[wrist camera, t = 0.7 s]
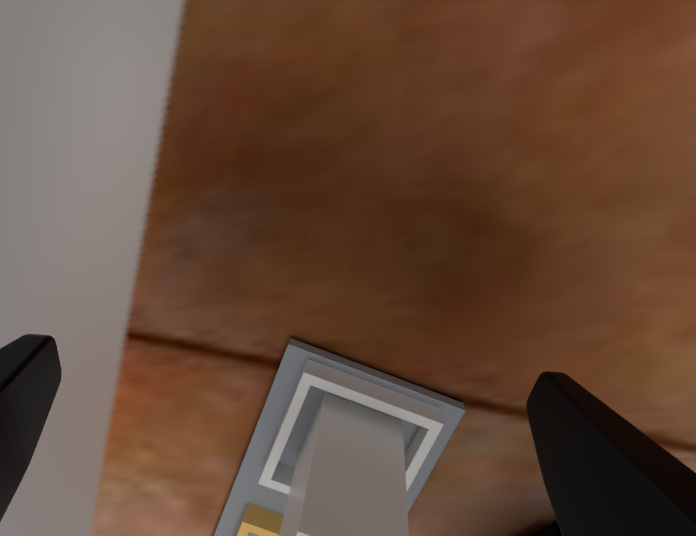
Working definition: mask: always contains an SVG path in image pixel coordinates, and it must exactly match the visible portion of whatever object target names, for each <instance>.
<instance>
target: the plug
mask: <svg viewBox="0 0 696 536" xmlns="http://www.w3.org/2000/svg"><path fill="white" fill-rule="evenodd" d="M279 536H409V524H408V507H407V491H406V475H405V459H404V442H403V426H402V421H400V420H397V419H394V418H392V417H389V416H386V415H384V414H381V413H378V412H376V411H373V410H370V409H367V408H365V407H362V406H359V405H357V404H354V403H351V402H349V401H346V400H343V399H340V398H338V397H335V396H332V395H330V394H327V393H325V395H324V397H323V399H322V401H321V404H320V406H319V408H318V411H317V413H316V415H315V418H314V420H313V422H312V424H311V427H310V429H309V431H308V434H307V436H306V438H305V440H304V443H303V445H302V447H301V450H300V452H299V454H298V458H297V462H296V466H295V470H294V474H293V479H292V483H291V487H290V491H289V495H288V500H287V504H286V508H285V512H284V516H283V521H282V525H281V529H280V533H279Z"/></svg>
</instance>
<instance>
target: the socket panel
mask: <svg viewBox="0 0 696 536" xmlns="http://www.w3.org/2000/svg"><path fill="white" fill-rule="evenodd" d="M325 393H327V394H330V395H332V396H335V397H338V398H340V399H343V400H346V401H349V402H351V403H354V404H357V405H359V406H362V407H365V408H367V409H370V410H373V411H376V412H378V413H381V414H384V415H386V416H389V417H392V418H394V419H397V420H400V421H402V426H403V442H404V459H405V475H406V491H407V507H408V512H409V510H410V509H411V507H412V505H413V503H414V501H415V500H416V498H417V496H418V494H419V493H420V491H421V489H422V487H423V485H424V484H425V482H426V480H427V478H428V477H429V475H430V473H431V471H432V469H433V468H434V466H435V464H436V462H437V460H438V459H439V457H440V455H441V453H442V452H443V450H444V448H445V446H446V444H447V443H448V441H449V439H450V437H451V436H452V434H453V432H454V430H455V428H456V427H457V425H458V423H459V421H460V420H461V418H462V416H463V414H464V412H465V411H466V410H465V407H464V403H462V402H459V401H457V400H454V399H451V398H449V397H446V396H443V395H441V394H438V393H435V392H433V391H430V390H427V389H425V388H422V387H419V386H417V385H414V384H411V383H409V382H406V381H403V380H401V379H398V378H396V377H393V376H390V375H388V374H385V373H382V372H380V371H377V370H374V369H372V368H369V367H366V366H364V365H361V364H358V363H356V362H353V361H350V360H348V359H345V358H342V357H340V356H337V355H334V354H332V353H329V352H326V351H324V350H321V349H318V348H316V347H313V346H310V345H308V344H305V343H303V342H300V341H297V340H295V339H292V338H290V341H289V343H288V346H287V349H286V351H285V354H284V356H283V359H282V361H281V364H280V367H279V369H278V372H277V374H276V377H275V379H274V382H273V385H272V387H271V390H270V392H269V395H268V397H267V400H266V403H265V405H264V408H263V410H262V413H261V416H260V418H259V421H258V423H257V426H256V428H255V431H254V434H253V436H252V439H251V441H250V444H249V446H248V449H247V452H246V454H245V457H244V459H243V462H242V464H241V467H240V470H239V472H238V475H237V477H236V480H235V483H234V485H233V488H232V490H231V493H230V495H229V498H228V501H227V503H226V506H225V508H224V511H223V513H222V516H221V519H220V521H219V524H218V526H217V529H216V531H215V534H214V536H279V533H280V529H281V525H282V521H283V516H284V512H285V508H286V504H287V500H288V495H289V491H290V487H291V483H292V479H293V474H294V470H295V466H296V462H297V458H298V454H299V452H300V450H301V447H302V445H303V443H304V440H305V438H306V436H307V434H308V431H309V429H310V427H311V424H312V422H313V420H314V418H315V415H316V413H317V411H318V408H319V406H320V404H321V401H322V399H323V397H324V395H325Z"/></svg>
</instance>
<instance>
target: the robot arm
mask: <svg viewBox="0 0 696 536" xmlns="http://www.w3.org/2000/svg"><path fill="white" fill-rule="evenodd" d="M60 381H61V366H60V361H59V356H58V351H57V346H56V342H55V339H54V338H53V337H51V336H49V335H37V334H27V335H24V336H21V337H20V338H18V339H16V340H15V341H13V342H11V343H9V344H7V345H6V346H4V347H2V348H0V521H1V519H2V517H3V516H4V514H5V512H6V510H7V508H8V506H9V504H10V502H11V500H12V498H13V496H14V494H15V492H16V490H17V488H18V486H19V484H20V482H21V480H22V478H23V476H24V474H25V472H26V470H27V468H28V466H29V463H30V461H31V458H32V456H33V453H34V451H35V448H36V446H37V443H38V440H39V438H40V435H41V432H42V429H43V427H44V424H45V422H46V419H47V416H48V414H49V411H50V409H51V406H52V403H53V400H54V398H55V395H56V392H57V390H58V387H59V384H60ZM526 411H527V416H528V420H529V424H530V428H531V432H532V436H533V440H534V444H535V449H536V453H537V457H538V461H539V465H540V469H541V473H542V477H543V480H544V484H545V487H546V490H547V493H548V496H549V499H550V502H551V505H552V508H553V510H554V513H555V516H556V519H557V523H555V524H553V525H551V526H549V527H547V528H544V529H542V530H540V531H538V532H536V533H534V534H532V535H529V536H696V473H695V472H694V471H692V470H691V469H690V468H688V467H687V466H686V465H684V464H683V463H682V462H681V461H679V460H678V459H677V458H675V457H674V456H673V455H671V454H670V453H669V452H667V451H666V450H665V449H663V448H662V447H661V446H660V445H658V444H657V443H656V442H654V441H653V440H652V439H650V438H649V437H648V436H646V435H645V434H644V433H642V432H641V431H640V430H638V429H637V428H636V427H635V426H633V425H632V424H631V423H629V422H628V421H627V420H625V419H624V418H623V417H621V416H620V415H619V414H617V413H616V412H615V411H614V410H612V409H611V408H610V407H608V406H607V405H606V404H604V403H603V402H602V401H600V400H599V399H598V398H596V397H595V396H594V395H592V394H591V393H590V392H589V391H587V390H586V389H585V388H583V387H582V386H581V385H579V384H578V383H577V382H575V381H574V380H573V379H571V378H570V377H569V376H567V375H566V374H564V373H561V372H548V371H546V372H543V373H541V374H540V376H539V377H538V379H537V381H536V383H535V385H534V387H533V389H532V391H531V393H530V395H529V397H528V400H527V404H526Z"/></svg>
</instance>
